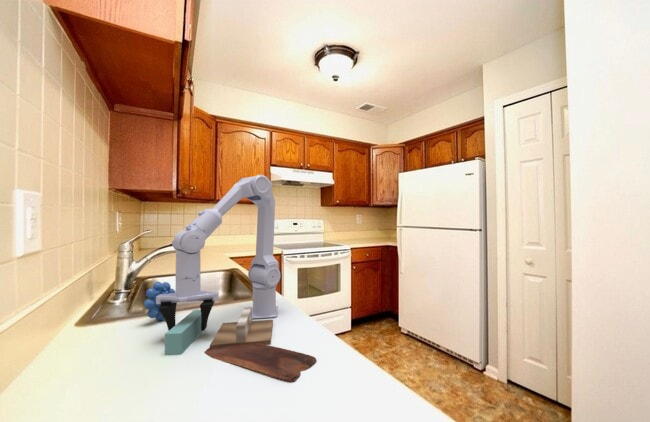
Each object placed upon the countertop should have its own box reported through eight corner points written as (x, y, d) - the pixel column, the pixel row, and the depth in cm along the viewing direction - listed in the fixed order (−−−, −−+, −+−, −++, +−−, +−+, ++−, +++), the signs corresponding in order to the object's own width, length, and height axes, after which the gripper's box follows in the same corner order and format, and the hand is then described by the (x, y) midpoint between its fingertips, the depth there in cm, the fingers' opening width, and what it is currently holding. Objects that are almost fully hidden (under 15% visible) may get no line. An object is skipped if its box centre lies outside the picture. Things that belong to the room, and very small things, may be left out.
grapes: (158, 329, 75) (158, 286, 76) (137, 327, 77) (137, 285, 77) (186, 314, 87) (186, 277, 87) (168, 313, 88) (168, 276, 88)
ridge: (222, 326, 77) (222, 308, 77) (272, 323, 79) (272, 305, 79) (209, 349, 63) (209, 327, 63) (270, 344, 65) (270, 323, 65)
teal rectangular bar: (193, 327, 77) (193, 310, 77) (206, 327, 77) (206, 309, 77) (164, 356, 61) (164, 334, 61) (181, 355, 61) (181, 333, 61)
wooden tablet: (196, 348, 62) (230, 327, 70) (197, 358, 62) (231, 336, 71) (292, 381, 49) (318, 350, 58) (293, 392, 49) (319, 360, 58)
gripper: (150, 281, 64) (149, 339, 64) (213, 279, 66) (213, 334, 66) (163, 275, 71) (162, 327, 71) (220, 273, 73) (220, 323, 73)
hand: (188, 330), depth 69 cm, fingers open, 7 cm apart
